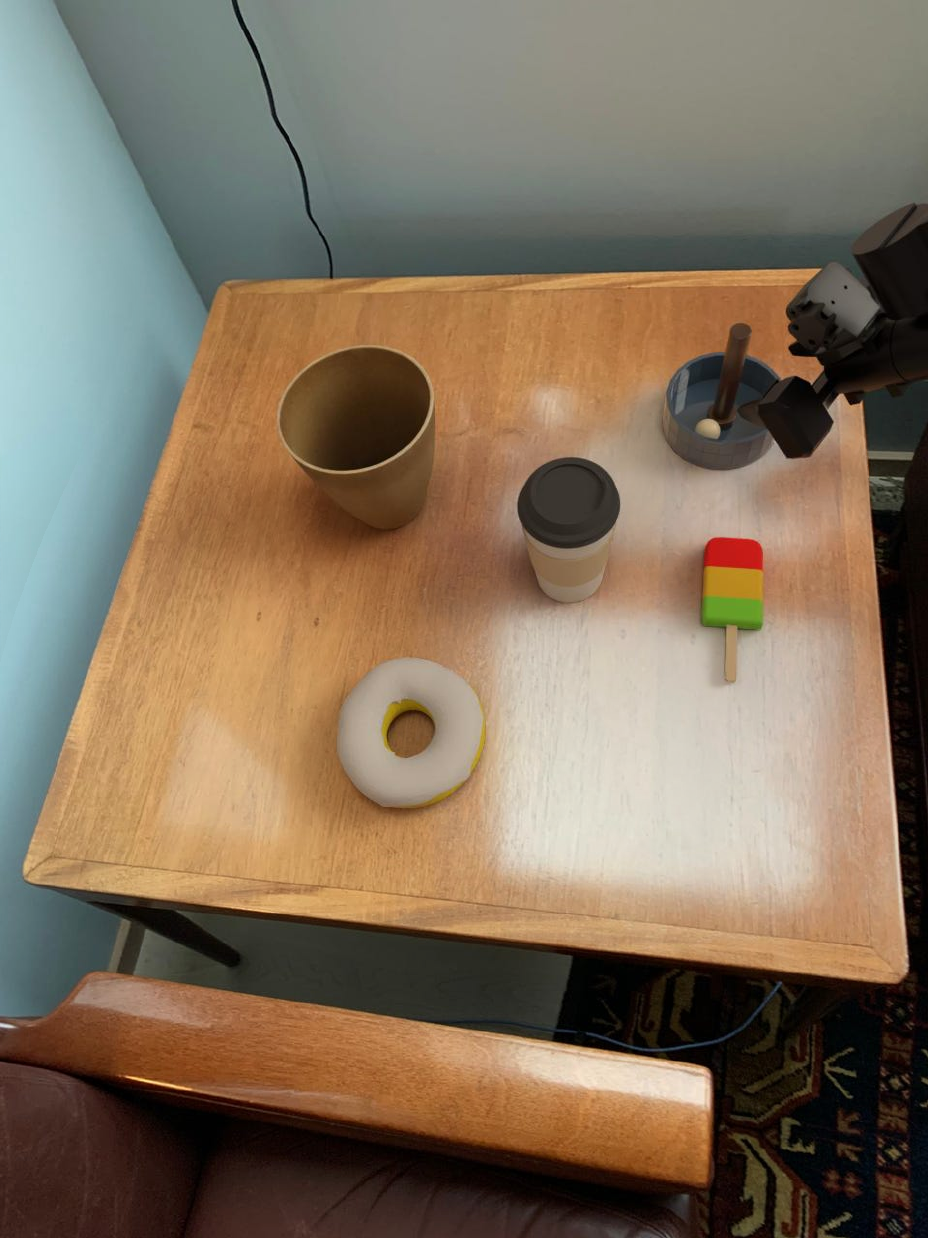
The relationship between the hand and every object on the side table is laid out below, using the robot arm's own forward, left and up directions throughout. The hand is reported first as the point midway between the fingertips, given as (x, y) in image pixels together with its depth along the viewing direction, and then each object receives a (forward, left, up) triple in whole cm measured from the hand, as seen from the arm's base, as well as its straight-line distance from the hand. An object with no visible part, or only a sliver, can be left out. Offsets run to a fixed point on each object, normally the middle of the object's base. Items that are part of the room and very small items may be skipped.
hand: (765, 381), depth 84 cm
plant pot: (+33, -22, -9) cm, 40 cm away
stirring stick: (+1, -4, -8) cm, 9 cm away
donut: (+48, +1, -9) cm, 49 cm away
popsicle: (+17, +12, -9) cm, 23 cm away
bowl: (+1, -4, -9) cm, 10 cm away
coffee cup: (+25, -2, -9) cm, 26 cm away
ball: (+4, -3, -7) cm, 8 cm away
